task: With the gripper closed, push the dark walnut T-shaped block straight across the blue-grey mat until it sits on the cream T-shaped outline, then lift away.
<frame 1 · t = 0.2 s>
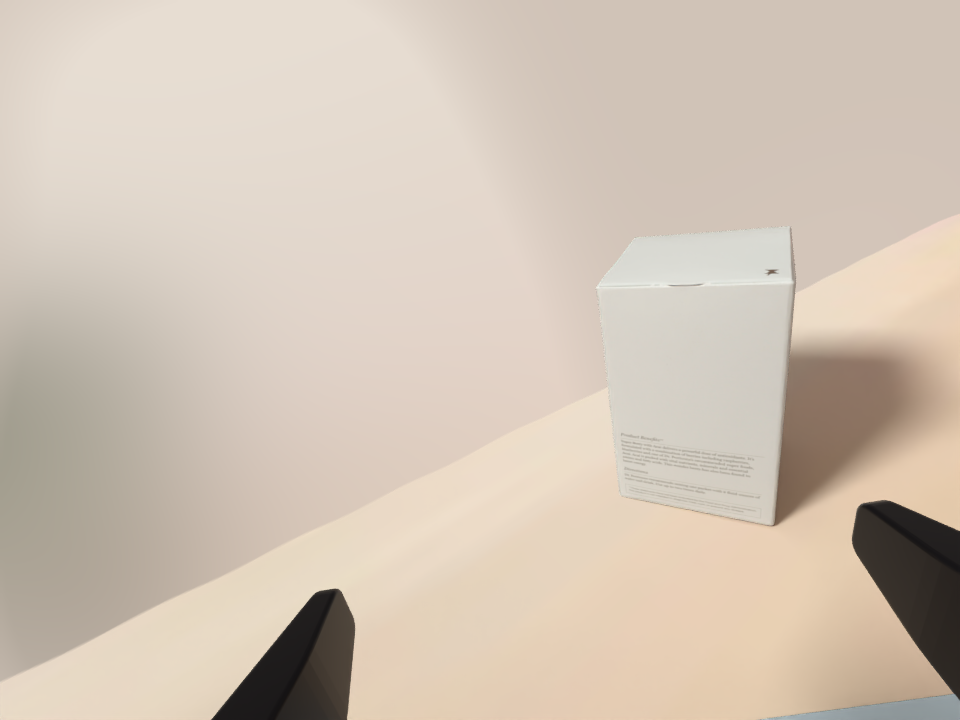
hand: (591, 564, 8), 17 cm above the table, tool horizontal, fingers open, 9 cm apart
supplement box: (698, 467, 33), on the table
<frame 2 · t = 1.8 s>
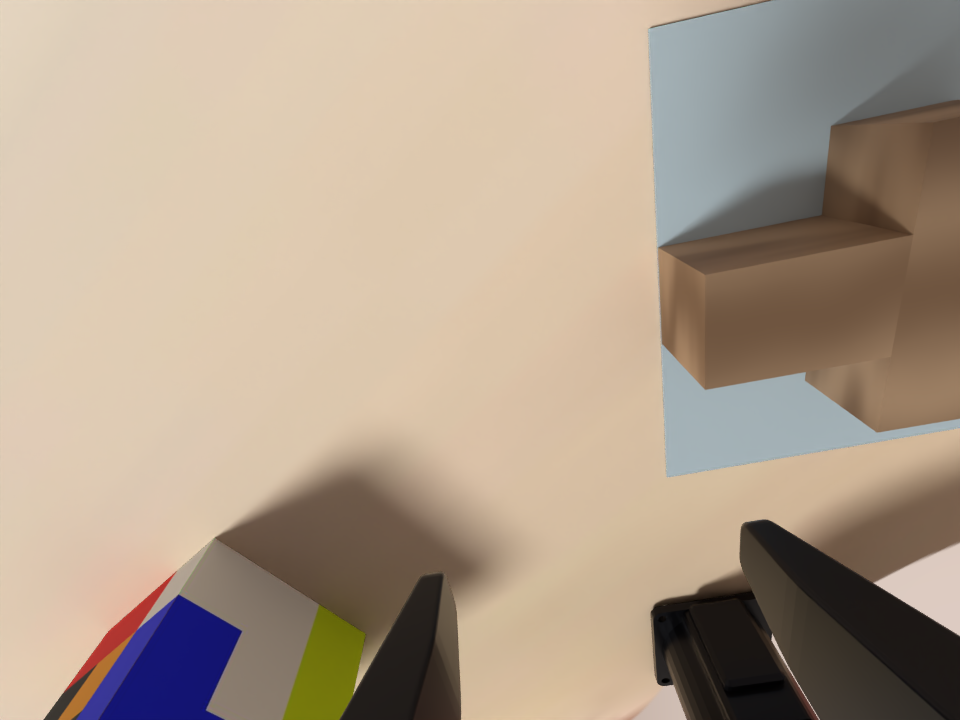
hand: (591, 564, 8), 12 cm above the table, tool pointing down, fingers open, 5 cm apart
tee: (789, 272, 18), resting on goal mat
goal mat: (949, 241, 18), on the table
puzzle toy: (240, 628, 27), on the table
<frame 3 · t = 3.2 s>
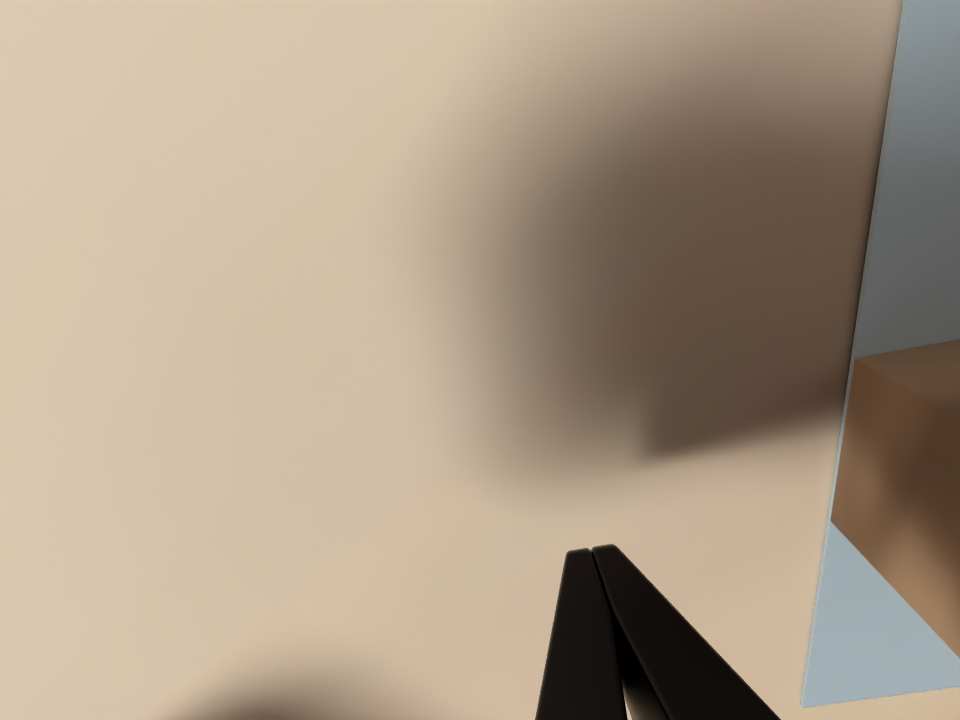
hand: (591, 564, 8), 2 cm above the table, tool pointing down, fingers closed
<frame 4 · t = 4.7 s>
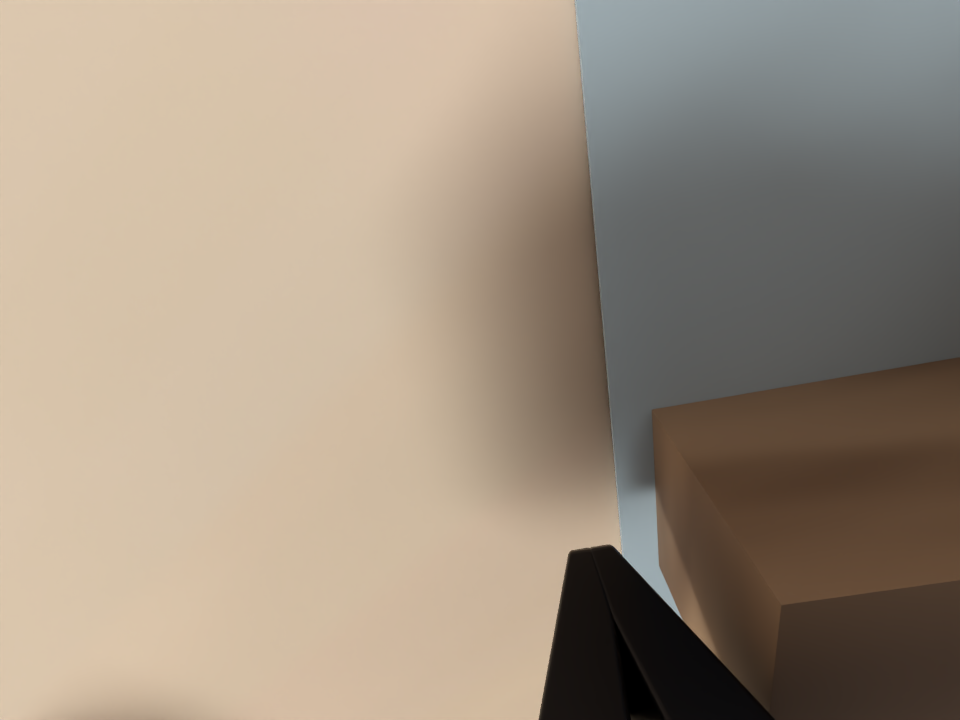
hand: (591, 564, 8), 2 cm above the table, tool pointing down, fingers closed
tee: (917, 453, 9), resting on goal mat, touching gripper
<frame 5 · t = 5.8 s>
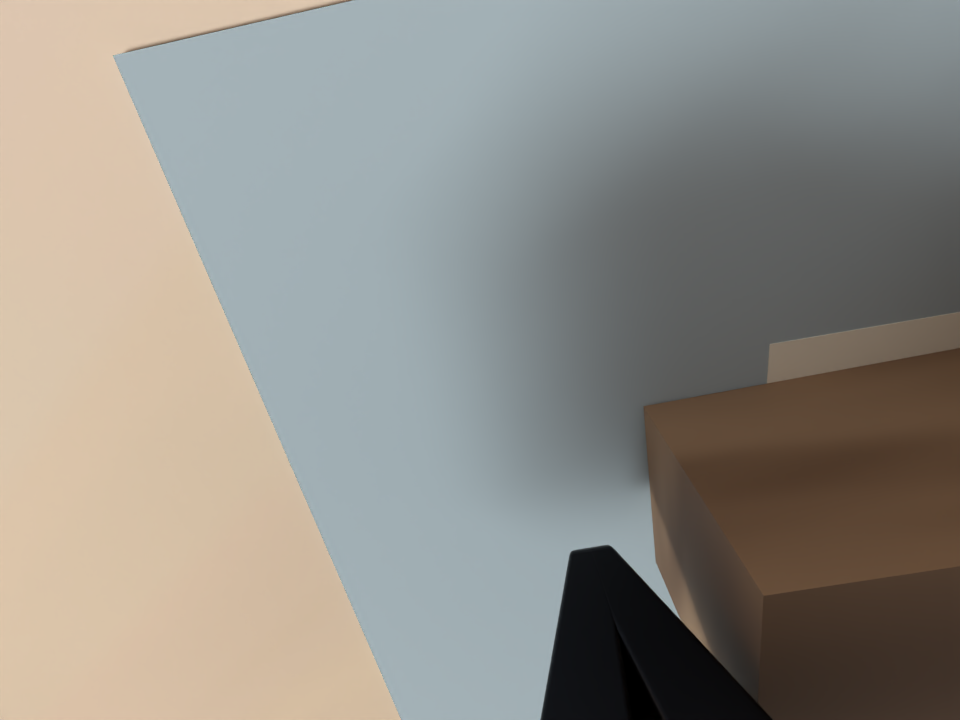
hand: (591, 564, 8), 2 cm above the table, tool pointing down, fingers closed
tee: (911, 446, 9), resting on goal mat, touching gripper
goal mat: (859, 461, 9), on the table
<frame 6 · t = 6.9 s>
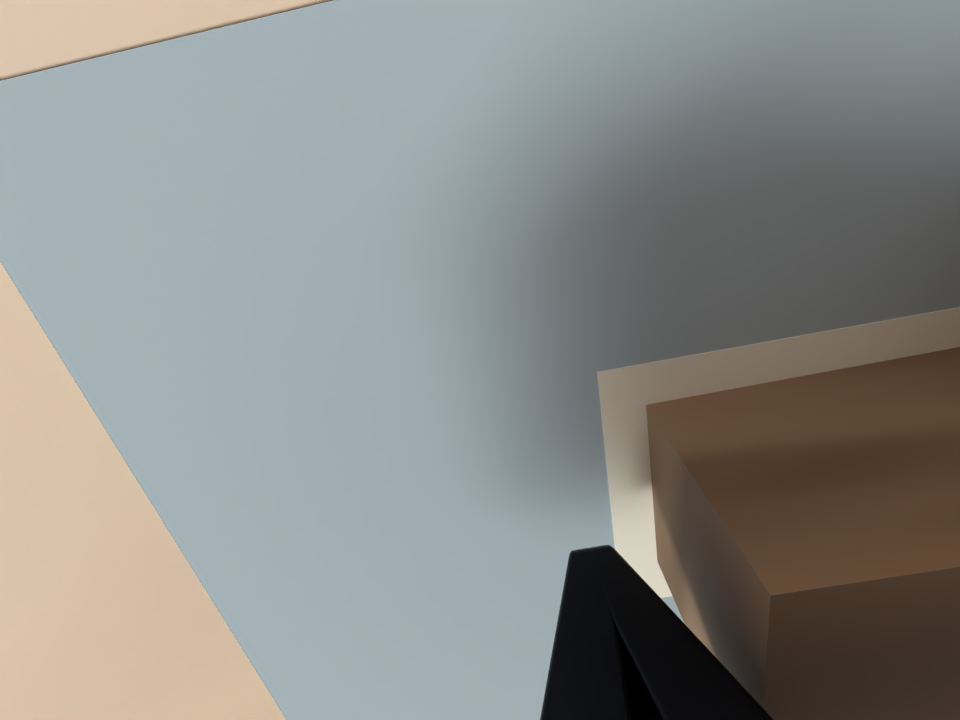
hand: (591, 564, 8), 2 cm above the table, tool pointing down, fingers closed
tee: (914, 445, 9), resting on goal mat, touching gripper
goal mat: (708, 483, 10), on the table
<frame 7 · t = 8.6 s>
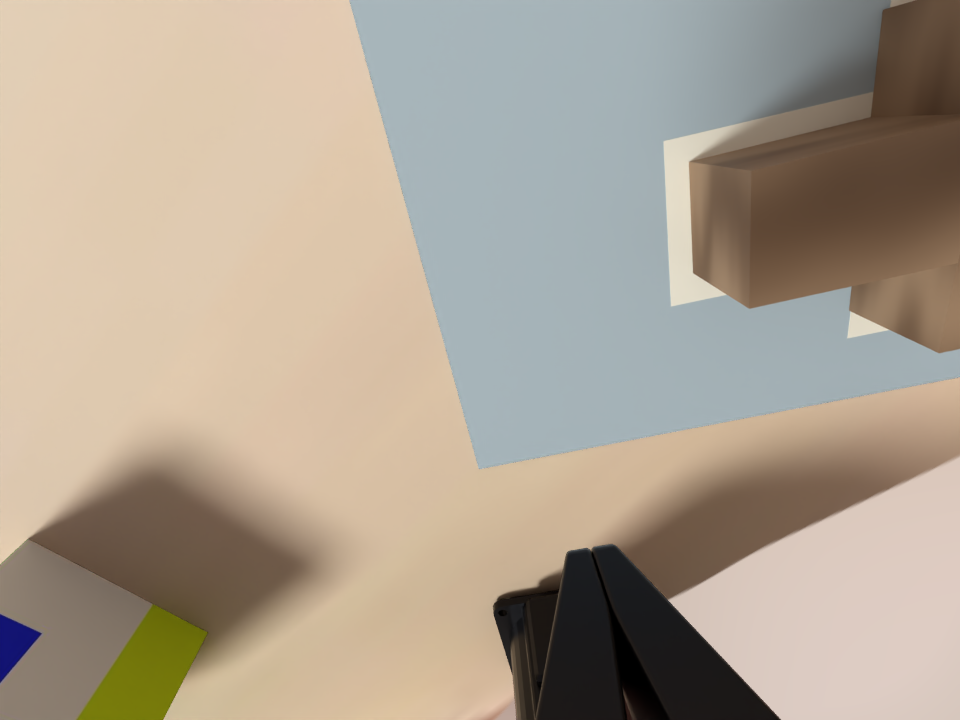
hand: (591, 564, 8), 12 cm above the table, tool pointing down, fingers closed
tee: (834, 186, 17), resting on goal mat
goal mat: (721, 217, 17), on the table
puzzle toy: (81, 628, 27), on the table
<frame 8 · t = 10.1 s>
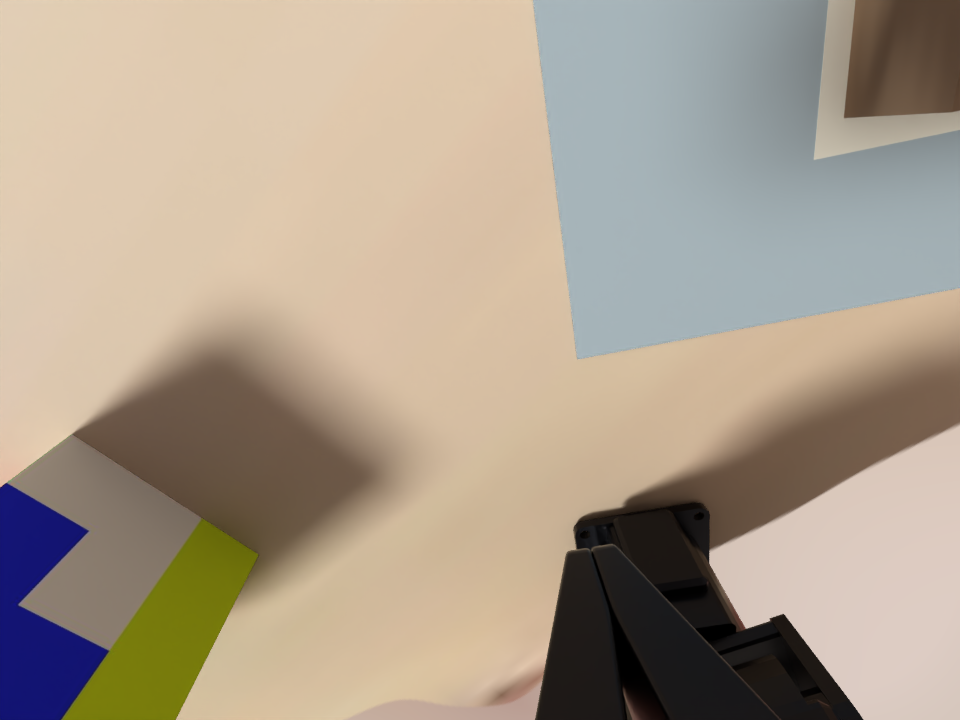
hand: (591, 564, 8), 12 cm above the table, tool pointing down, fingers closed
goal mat: (884, 48, 15), on the table
puzzle toy: (119, 548, 24), on the table
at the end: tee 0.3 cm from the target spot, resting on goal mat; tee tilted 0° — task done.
